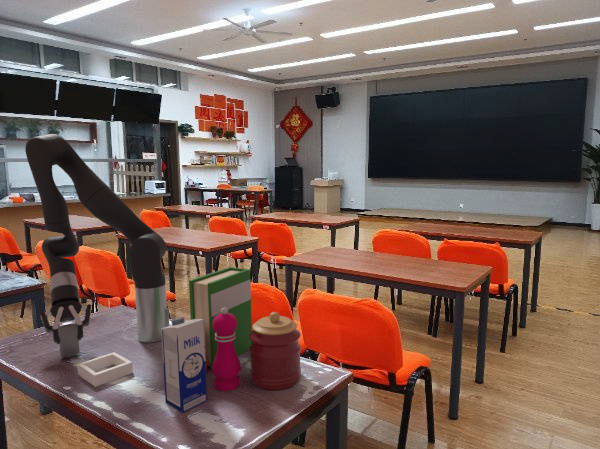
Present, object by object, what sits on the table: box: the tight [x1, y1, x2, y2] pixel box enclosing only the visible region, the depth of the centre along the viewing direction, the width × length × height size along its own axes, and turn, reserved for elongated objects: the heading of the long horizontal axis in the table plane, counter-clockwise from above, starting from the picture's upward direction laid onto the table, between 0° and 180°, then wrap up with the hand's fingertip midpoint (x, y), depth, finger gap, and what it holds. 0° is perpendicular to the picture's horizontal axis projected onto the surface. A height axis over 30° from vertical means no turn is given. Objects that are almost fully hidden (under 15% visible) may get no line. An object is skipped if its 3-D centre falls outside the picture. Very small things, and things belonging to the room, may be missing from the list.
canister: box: [249, 311, 302, 391], centre depth 115 cm, size 13×13×18 cm
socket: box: [77, 351, 134, 388], centre depth 120 cm, size 10×10×3 cm
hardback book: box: [188, 266, 253, 372], centre depth 129 cm, size 18×7×24 cm, turn 151°
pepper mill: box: [211, 308, 242, 392], centre depth 112 cm, size 7×7×20 cm
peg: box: [58, 323, 81, 358], centre depth 130 cm, size 5×5×8 cm
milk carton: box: [161, 317, 208, 414], centre depth 104 cm, size 7×7×20 cm
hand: (69, 340), depth 130 cm, fingers closed on peg, 5 cm apart
